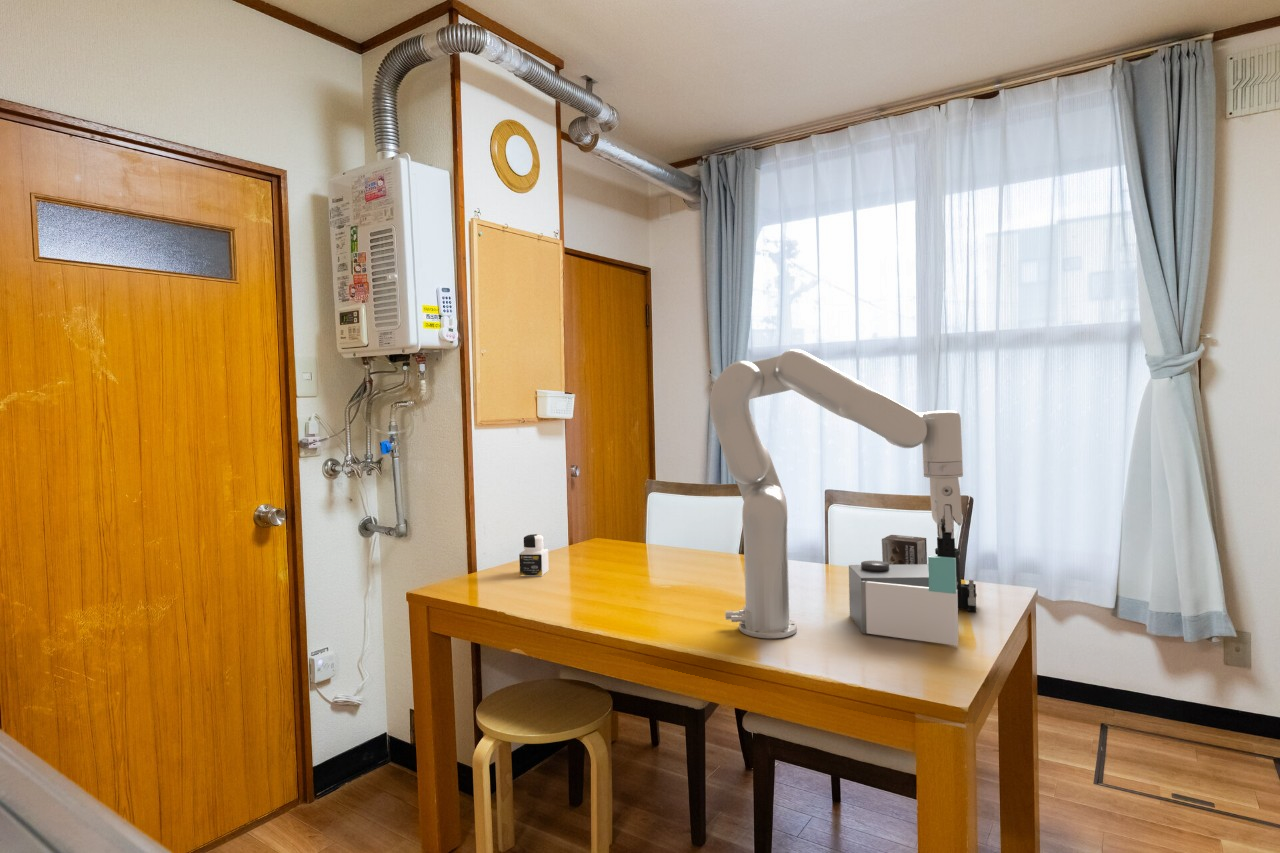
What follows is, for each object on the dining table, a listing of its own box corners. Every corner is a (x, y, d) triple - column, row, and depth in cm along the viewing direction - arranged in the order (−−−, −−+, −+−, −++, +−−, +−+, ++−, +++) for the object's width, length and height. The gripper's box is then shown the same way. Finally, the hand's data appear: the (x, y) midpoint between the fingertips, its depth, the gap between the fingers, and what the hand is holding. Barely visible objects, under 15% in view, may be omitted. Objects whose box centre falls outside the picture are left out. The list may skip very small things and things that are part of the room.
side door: (860, 632, 144) (858, 551, 143) (862, 630, 145) (860, 550, 144) (957, 646, 134) (956, 559, 134) (958, 643, 135) (956, 557, 135)
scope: (975, 554, 155) (928, 551, 160) (976, 613, 156) (929, 609, 160) (976, 547, 163) (931, 545, 167) (977, 604, 163) (932, 600, 168)
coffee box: (929, 602, 166) (927, 537, 165) (919, 608, 161) (918, 541, 161) (892, 596, 172) (891, 533, 172) (882, 601, 167) (881, 537, 167)
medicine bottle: (519, 576, 204) (518, 537, 204) (527, 570, 211) (526, 533, 211) (542, 576, 203) (540, 537, 203) (549, 571, 210) (547, 533, 210)
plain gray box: (862, 632, 145) (860, 572, 145) (849, 615, 157) (848, 559, 157) (957, 632, 143) (956, 571, 143) (938, 615, 155) (936, 559, 155)
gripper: (968, 472, 132) (972, 565, 132) (956, 465, 146) (960, 549, 147) (927, 473, 134) (931, 564, 134) (919, 466, 148) (923, 549, 149)
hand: (946, 556), depth 141 cm, fingers closed
